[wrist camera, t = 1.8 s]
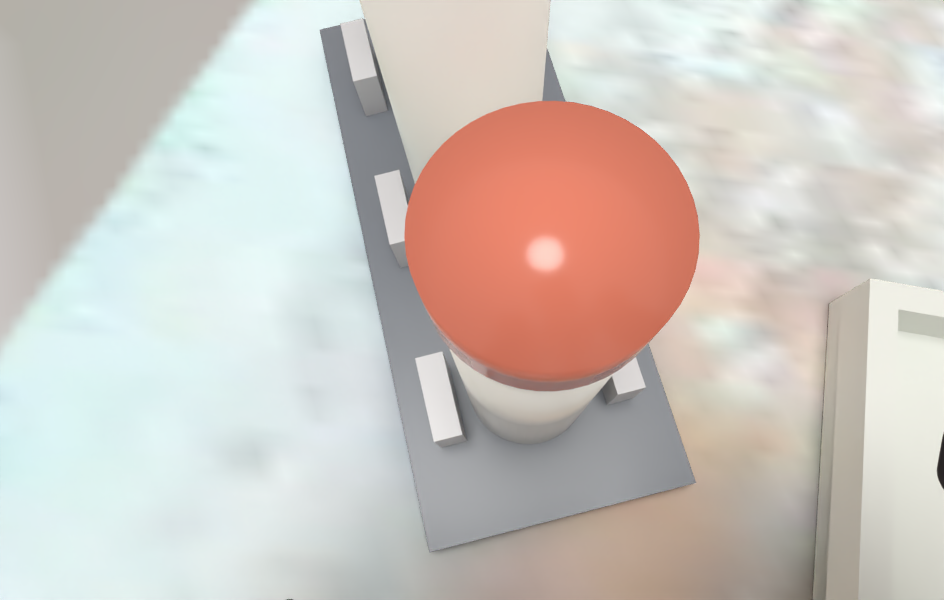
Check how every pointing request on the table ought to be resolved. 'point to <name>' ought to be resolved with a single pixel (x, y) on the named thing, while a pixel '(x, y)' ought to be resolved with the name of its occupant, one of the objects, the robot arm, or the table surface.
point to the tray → (882, 447)
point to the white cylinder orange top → (548, 257)
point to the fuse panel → (400, 307)
